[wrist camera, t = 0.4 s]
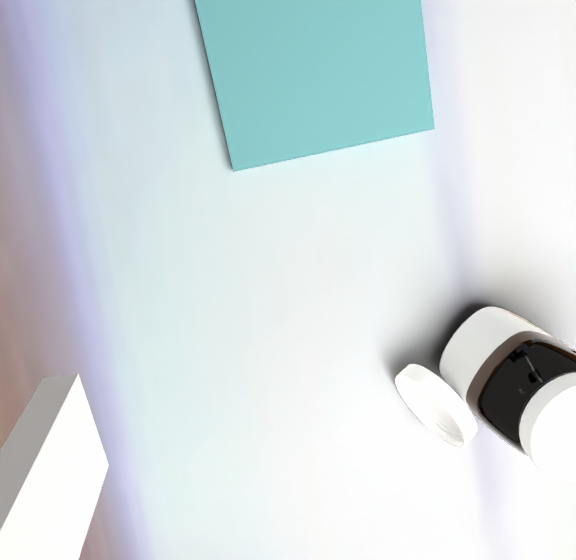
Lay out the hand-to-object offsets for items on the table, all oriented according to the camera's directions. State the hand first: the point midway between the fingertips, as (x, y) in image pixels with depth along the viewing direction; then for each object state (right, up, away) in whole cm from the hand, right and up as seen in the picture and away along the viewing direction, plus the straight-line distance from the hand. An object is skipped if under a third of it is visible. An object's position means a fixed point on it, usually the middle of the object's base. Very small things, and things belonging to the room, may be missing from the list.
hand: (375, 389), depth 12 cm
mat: (0, +18, +22) cm, 28 cm away
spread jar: (+13, -4, +30) cm, 33 cm away
